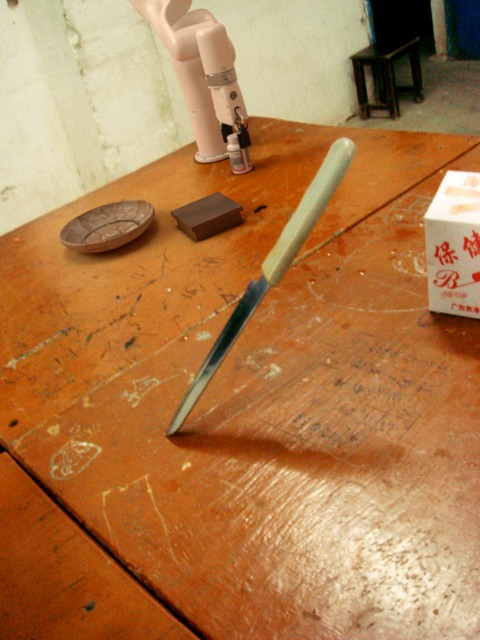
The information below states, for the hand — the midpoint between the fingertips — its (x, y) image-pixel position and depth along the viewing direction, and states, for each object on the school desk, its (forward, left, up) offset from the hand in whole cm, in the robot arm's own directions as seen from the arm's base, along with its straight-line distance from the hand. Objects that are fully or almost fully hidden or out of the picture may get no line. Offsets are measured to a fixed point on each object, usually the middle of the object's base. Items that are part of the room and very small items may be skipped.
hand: (237, 144), depth 169 cm
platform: (+22, -21, -8) cm, 32 cm away
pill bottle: (-1, 0, -8) cm, 8 cm away
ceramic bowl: (+8, -41, -8) cm, 43 cm away
